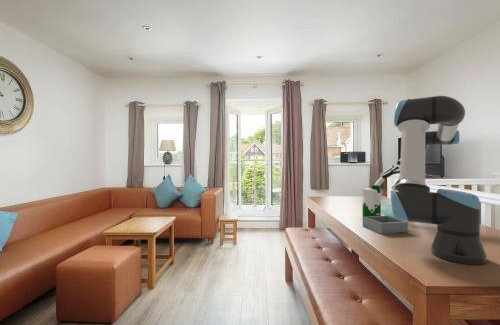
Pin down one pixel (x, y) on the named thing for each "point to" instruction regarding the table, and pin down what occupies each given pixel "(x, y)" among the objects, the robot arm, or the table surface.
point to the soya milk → (371, 201)
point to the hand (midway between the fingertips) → (384, 187)
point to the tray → (385, 224)
